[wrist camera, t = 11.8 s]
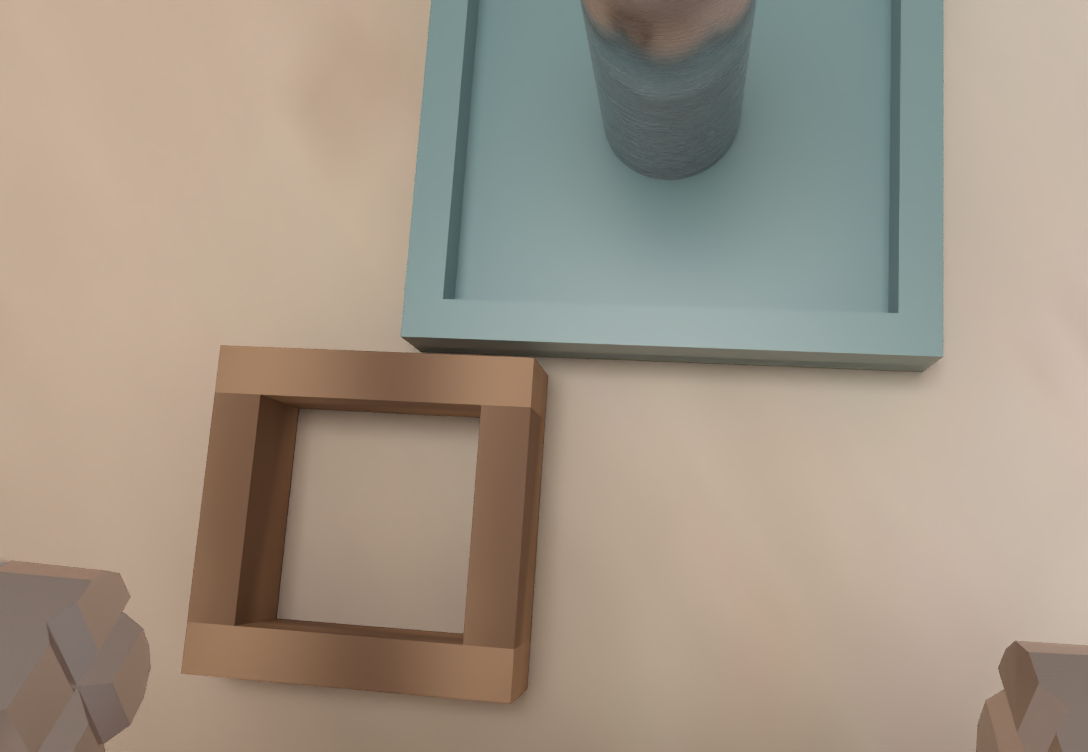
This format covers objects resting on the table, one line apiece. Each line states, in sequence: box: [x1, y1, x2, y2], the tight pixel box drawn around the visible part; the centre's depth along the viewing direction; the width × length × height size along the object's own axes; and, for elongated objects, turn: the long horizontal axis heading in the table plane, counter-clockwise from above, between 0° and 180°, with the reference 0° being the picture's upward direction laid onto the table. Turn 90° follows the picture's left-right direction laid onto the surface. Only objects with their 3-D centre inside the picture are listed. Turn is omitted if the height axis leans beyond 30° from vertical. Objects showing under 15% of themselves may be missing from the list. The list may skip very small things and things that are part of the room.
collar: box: [181, 345, 548, 704], centre depth 25 cm, size 8×8×2 cm
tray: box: [401, 0, 943, 372], centre depth 26 cm, size 13×13×2 cm
